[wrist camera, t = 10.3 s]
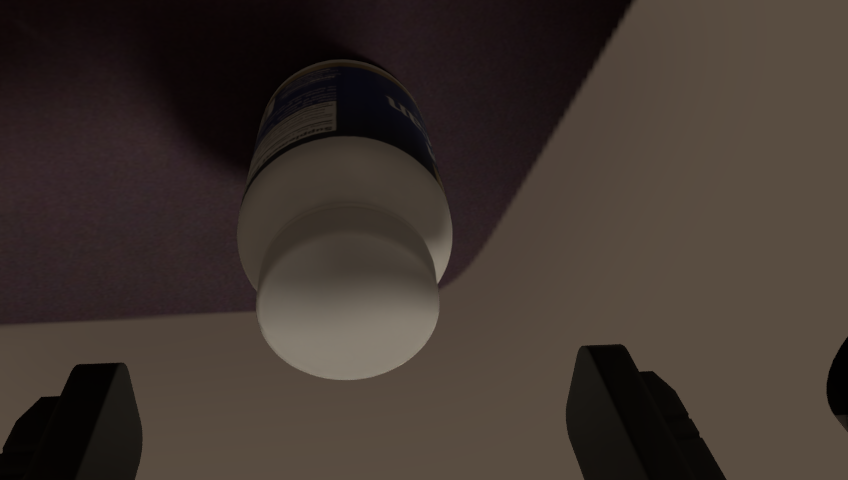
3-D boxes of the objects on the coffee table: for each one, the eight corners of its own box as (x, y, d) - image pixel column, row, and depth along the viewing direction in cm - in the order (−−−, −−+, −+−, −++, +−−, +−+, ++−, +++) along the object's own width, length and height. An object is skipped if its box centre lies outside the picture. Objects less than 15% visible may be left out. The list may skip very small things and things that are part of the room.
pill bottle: (453, 153, 24) (516, 334, 16) (326, 231, 25) (322, 438, 17) (364, 20, 21) (384, 155, 13) (226, 114, 22) (164, 293, 14)
